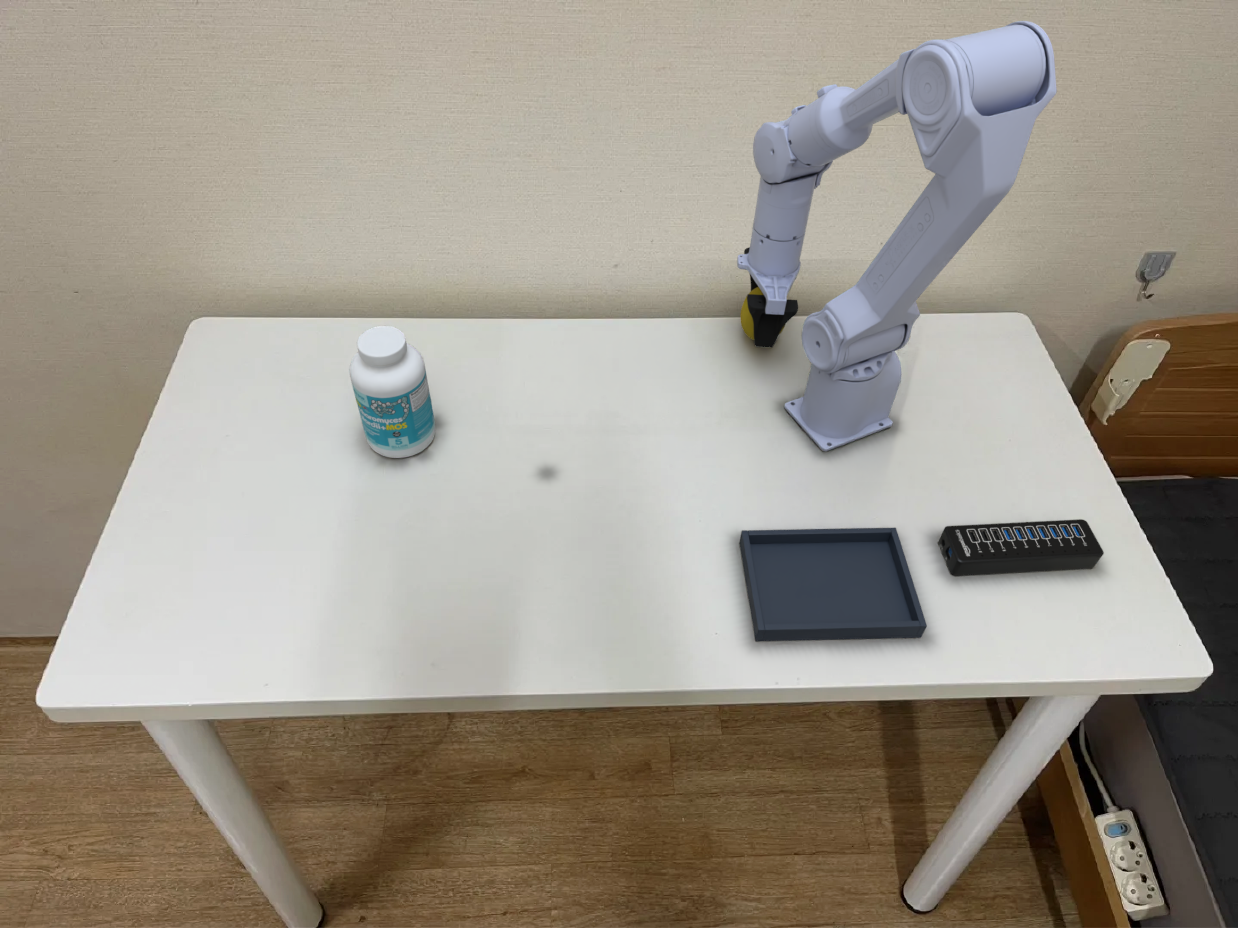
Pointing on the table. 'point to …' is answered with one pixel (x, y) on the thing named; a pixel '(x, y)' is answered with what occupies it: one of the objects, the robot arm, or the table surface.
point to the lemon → (749, 316)
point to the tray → (829, 585)
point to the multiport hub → (1019, 547)
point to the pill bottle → (392, 393)
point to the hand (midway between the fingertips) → (762, 325)
